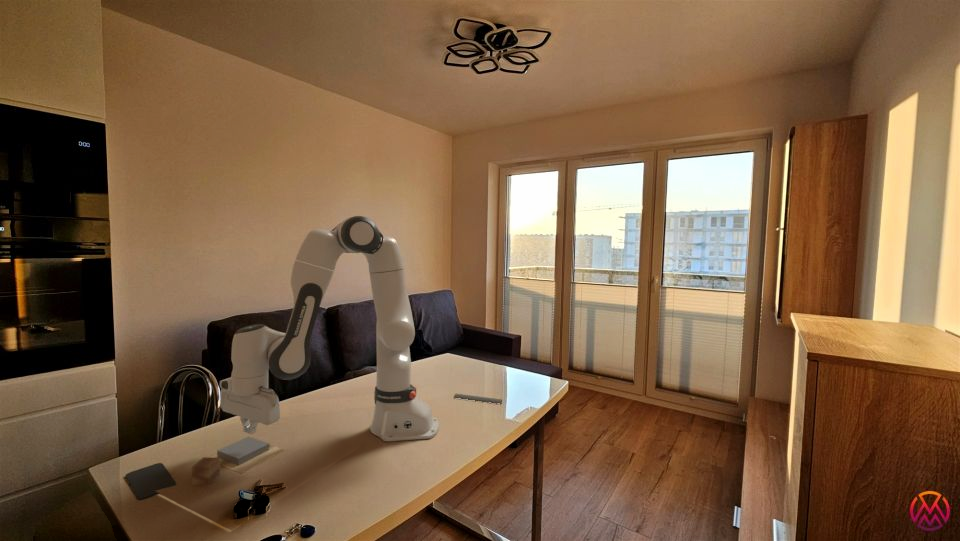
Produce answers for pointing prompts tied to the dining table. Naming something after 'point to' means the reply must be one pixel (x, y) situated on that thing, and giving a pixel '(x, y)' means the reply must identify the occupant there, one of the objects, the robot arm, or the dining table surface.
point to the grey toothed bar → (478, 398)
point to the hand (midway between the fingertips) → (249, 432)
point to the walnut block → (205, 471)
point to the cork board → (251, 462)
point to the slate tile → (243, 450)
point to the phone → (149, 480)
